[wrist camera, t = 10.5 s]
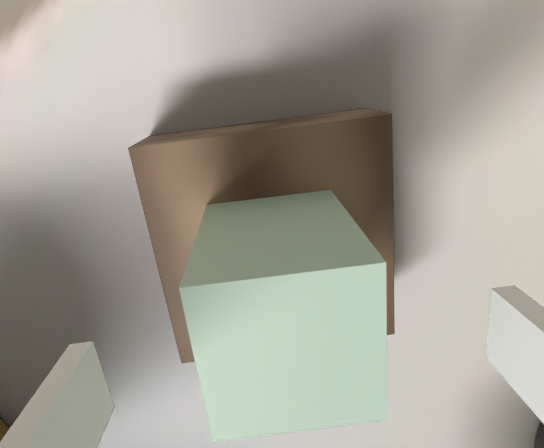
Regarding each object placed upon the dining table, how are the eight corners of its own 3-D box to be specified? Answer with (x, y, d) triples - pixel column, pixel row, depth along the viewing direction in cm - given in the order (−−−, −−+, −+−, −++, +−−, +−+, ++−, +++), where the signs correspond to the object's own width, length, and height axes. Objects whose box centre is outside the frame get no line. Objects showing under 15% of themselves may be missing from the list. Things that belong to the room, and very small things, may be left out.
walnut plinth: (366, 108, 21) (392, 113, 18) (372, 296, 26) (394, 334, 22) (149, 136, 21) (128, 148, 18) (191, 321, 25) (181, 363, 22)
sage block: (330, 189, 19) (386, 262, 11) (337, 297, 21) (387, 419, 13) (206, 204, 19) (178, 288, 11) (225, 311, 21) (212, 442, 13)
